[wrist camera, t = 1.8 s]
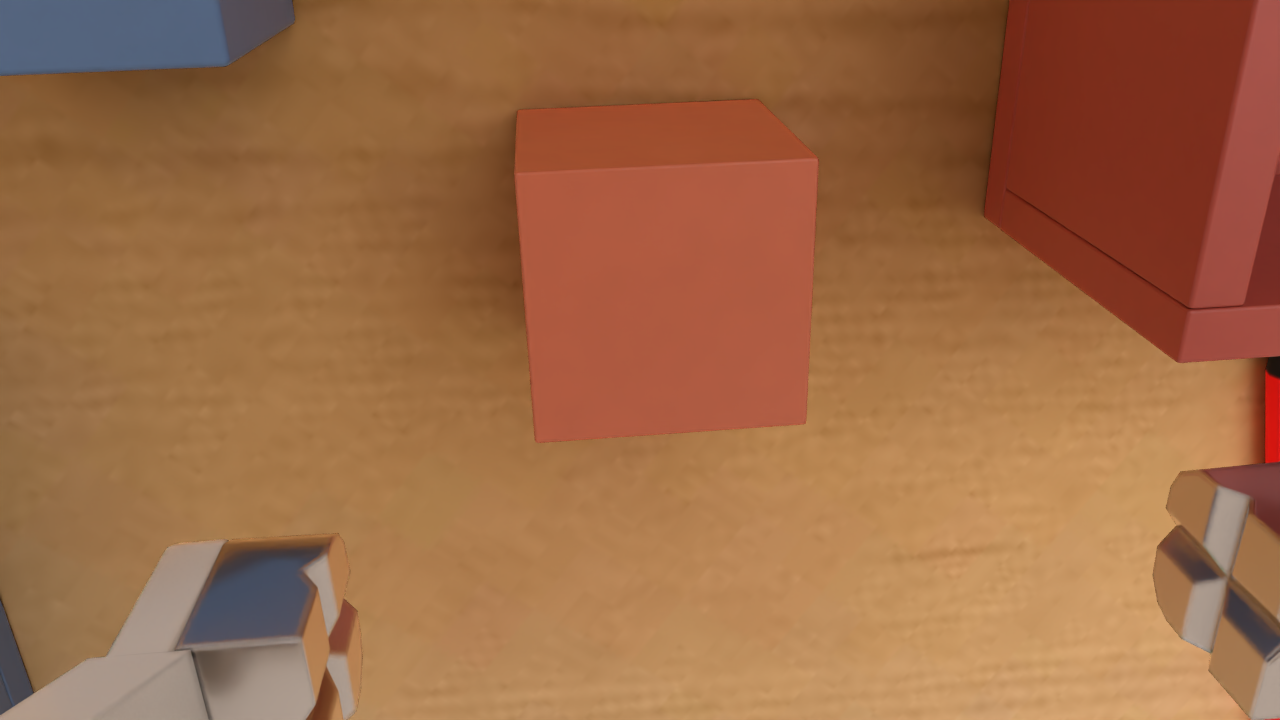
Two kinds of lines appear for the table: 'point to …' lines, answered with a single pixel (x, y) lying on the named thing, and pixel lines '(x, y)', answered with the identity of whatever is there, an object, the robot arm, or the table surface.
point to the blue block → (133, 33)
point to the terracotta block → (665, 267)
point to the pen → (1272, 414)
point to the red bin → (1148, 163)
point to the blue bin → (11, 669)
